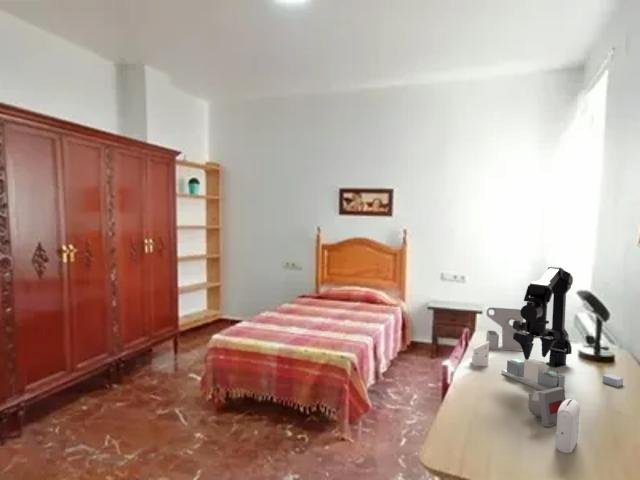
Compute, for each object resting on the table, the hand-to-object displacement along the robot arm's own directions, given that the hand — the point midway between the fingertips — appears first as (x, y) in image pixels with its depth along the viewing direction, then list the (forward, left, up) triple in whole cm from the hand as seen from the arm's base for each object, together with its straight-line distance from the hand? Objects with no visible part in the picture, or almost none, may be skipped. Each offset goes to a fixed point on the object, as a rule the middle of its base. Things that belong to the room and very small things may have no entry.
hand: (535, 358), depth 167 cm
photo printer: (+31, +35, -10) cm, 48 cm away
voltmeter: (+16, +19, -10) cm, 27 cm away
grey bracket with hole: (-27, -37, -10) cm, 47 cm away
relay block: (-23, +14, -8) cm, 28 cm away
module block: (0, 0, -8) cm, 8 cm away
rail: (0, -1, -10) cm, 10 cm away
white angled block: (+3, -24, -10) cm, 26 cm away
